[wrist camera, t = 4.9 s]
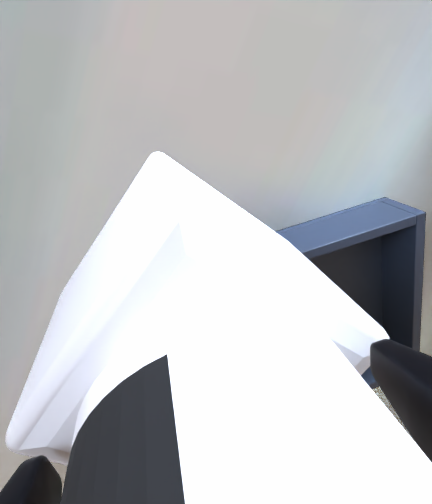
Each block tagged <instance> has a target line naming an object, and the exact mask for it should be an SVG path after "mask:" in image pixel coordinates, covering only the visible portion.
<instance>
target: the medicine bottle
mask: <svg viewBox="0 0 432 504" xmlns="http://www.w3.org/2000/svg"><path fill="white" fill-rule="evenodd" d="M382 339H389V336H388V335H387V333H386V331H385V330H384V328H382V327H381V326H380V325H379V324H378V323H377V322H376V321H375V320H374V319H373V318H372V317H370V316H369V315H368V314H367V313H366V312H365V311H364V310H363V309H362V308H361V307H360V306H358V305H357V304H356V303H355V302H354V301H353V300H352V299H351V298H350V297H349V296H348V295H346V294H345V293H344V292H343V291H342V290H341V289H340V288H339V287H338V286H337V285H336V284H334V283H333V282H332V281H331V280H330V279H329V278H328V277H327V276H326V275H325V274H324V273H322V272H321V271H320V270H319V269H318V268H317V267H316V266H315V265H314V264H313V263H312V262H310V261H309V260H308V259H307V258H306V257H305V256H304V255H303V254H302V253H301V252H300V251H298V250H297V249H296V248H295V247H294V246H293V245H292V244H291V243H290V242H289V241H287V240H286V239H285V238H283V237H282V236H280V235H279V234H278V233H276V232H275V231H273V230H272V229H270V228H269V227H268V226H266V225H265V224H263V223H262V222H261V221H259V220H258V219H256V218H255V217H253V216H252V215H251V214H249V213H248V212H246V211H245V210H243V209H242V208H241V207H239V206H238V205H236V204H235V203H234V202H232V201H231V200H229V199H228V198H226V197H225V196H224V195H222V194H221V193H219V192H218V191H217V190H215V189H214V188H212V187H211V186H209V185H208V184H207V183H205V182H204V181H202V180H201V179H199V178H198V177H197V176H195V175H194V174H192V173H191V172H190V171H188V170H187V169H185V168H184V167H182V166H181V165H180V164H178V163H177V162H175V161H174V160H173V159H171V158H170V157H168V156H167V155H165V154H164V153H161V152H154V153H152V154H151V155H150V156H149V158H148V159H147V161H146V162H145V164H144V165H143V167H142V168H141V170H140V171H139V173H138V175H137V176H136V178H135V179H134V181H133V182H132V184H131V185H130V187H129V189H128V190H127V192H126V193H125V195H124V196H123V198H122V199H121V201H120V202H119V204H118V206H117V207H116V209H115V210H114V212H113V213H112V215H111V216H110V218H109V219H108V221H107V223H106V224H105V226H104V227H103V229H102V230H101V232H100V233H99V235H98V237H97V238H96V240H95V241H94V243H93V244H92V246H91V247H90V249H89V250H88V252H87V254H86V255H85V257H84V258H83V260H82V261H81V263H80V264H79V266H78V267H77V269H76V271H75V272H74V274H73V275H72V277H71V278H70V280H69V281H68V283H67V285H66V286H65V288H64V289H63V291H62V293H61V295H60V298H59V300H58V303H57V306H56V308H55V311H54V313H53V316H52V318H51V321H50V323H49V326H48V328H47V331H46V333H45V336H44V338H43V341H42V343H41V346H40V348H39V351H38V353H37V356H36V359H35V361H34V364H33V366H32V369H31V371H30V374H29V376H28V379H27V381H26V384H25V386H24V389H23V391H22V394H21V396H20V399H19V401H18V404H17V406H16V409H15V411H14V414H13V417H12V419H11V422H10V424H9V427H8V429H7V432H6V437H5V444H6V446H7V447H8V449H9V450H11V451H12V452H14V453H17V454H21V455H26V456H30V457H37V456H40V455H44V456H46V457H47V459H48V460H49V461H51V462H55V463H59V464H63V465H67V466H68V467H67V472H66V477H65V482H64V488H63V493H62V498H61V503H60V504H432V463H431V461H430V460H429V459H428V458H427V456H426V455H425V454H424V453H423V452H422V450H421V449H420V448H419V447H418V445H417V444H416V443H415V442H414V441H413V439H412V438H411V437H410V436H409V434H408V433H407V432H406V431H405V430H404V428H403V427H402V426H401V425H400V423H399V422H398V421H397V420H396V419H395V417H394V416H393V415H392V414H391V412H390V411H389V410H388V409H387V408H386V406H385V405H384V404H383V403H382V401H381V400H380V399H379V398H378V397H377V395H376V394H375V393H374V392H373V390H372V389H371V388H370V387H369V386H368V384H367V383H366V382H365V381H364V379H363V378H362V377H361V375H362V374H363V373H364V372H365V371H366V370H367V369H368V368H369V367H370V346H371V344H372V343H373V342H376V341H379V340H382Z"/></svg>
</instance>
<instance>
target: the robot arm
mask: <svg viewBox="0 0 432 504" xmlns="http://www.w3.org/2000/svg"><path fill="white" fill-rule="evenodd" d="M370 368H371V372H372V375H373V377H374V379H375V380H376V382H377V383H378V385H379V386H380V388H381V390H382V391H383V393H384V394H385V396H386V397H387V399H388V400H389V402H390V404H391V405H392V407H393V408H394V410H395V411H396V413H397V415H398V416H399V418H400V419H401V421H402V422H403V424H404V426H405V427H406V429H407V430H408V432H409V433H410V435H411V436H412V438H413V439H414V440H415V442H416V443H417V444H418V446H419V447H420V448H421V450H422V451H423V452H424V453H425V455H426V456H427V457H428V458H429V460H430V461H431V462H432V357H431V356H429V355H426V354H424V353H421V352H419V351H417V350H414V349H412V348H410V347H407V346H405V345H402V344H400V343H398V342H395V341H393V340H390V339H382V340H379V341H376V342H373V343H372V344H371V346H370ZM61 497H62V482H61V478H60V476H59V474H58V473H57V471H56V470H55V468H54V467H53V466H52V464H51V463H50V461H49V460H48V459H47V457H46V456H44V455H40V456H37V457H34V458H31V459H28V460H26V461H24V462H23V463H22V464H21V465H20V466H19V467H18V469H17V470H16V471H15V473H14V474H13V475H12V477H11V478H10V480H9V481H8V482H7V484H6V485H5V486H4V488H3V489H2V490H1V492H0V504H60V503H61Z"/></svg>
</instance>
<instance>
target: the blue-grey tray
mask: <svg viewBox="0 0 432 504" xmlns="http://www.w3.org/2000/svg"><path fill="white" fill-rule="evenodd" d="M425 221H426V212H424V211H421V210H419V209H416V208H413V207H410V206H408V205H405V204H402V203H400V202H397V201H394V200H391V199H389V198H386V197H383V198H380V199H377V200H374V201H371V202H368V203H364V204H361V205H358V206H355V207H352V208H349V209H345V210H342V211H339V212H336V213H333V214H330V215H326V216H323V217H320V218H317V219H314V220H311V221H307V222H304V223H301V224H298V225H295V226H292V227H288V228H285V229H282V230H279V231H276V233H278V234H279V235H280V236H282V237H283V238H285V239H286V240H287V241H289V242H290V243H291V244H292V245H293V246H294V247H295V248H296V249H297V250H298V251H300V252H301V253H302V254H303V255H304V256H305V257H306V258H307V259H308V260H309V261H310V262H312V263H313V264H314V265H315V266H316V267H317V268H318V269H319V270H320V271H321V272H322V273H324V274H325V275H326V276H327V277H328V278H329V279H330V280H331V281H332V282H333V283H334V284H336V285H337V286H338V287H339V288H340V289H341V290H342V291H343V292H344V293H345V294H346V295H348V296H349V297H350V298H351V299H352V300H353V301H354V302H355V303H356V304H357V305H358V306H360V307H361V308H362V309H363V310H364V311H365V312H366V313H367V314H368V315H369V316H370V317H372V318H373V319H374V320H375V321H376V322H377V323H378V324H379V325H380V326H381V327H382V328H384V330H385V331H386V333H387V335H388V336H389V339H390V340H393V341H395V342H398V343H400V344H402V345H405V346H407V347H410V348H412V349H414V350H417V351H419V352H420V330H421V308H422V287H423V265H424V243H425ZM361 377H362V378H363V379H364V381H365V382H366V383H367V384H368V386H369V387H370V388H371V389H373V388H376V387H379V385H378V383H377V382H376V380H375V379H374V377H373V375H372V372H371V368H370V367H369V368H368V369H367V370H366V371H365V372H364V373H363V374H362V375H361Z"/></svg>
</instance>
